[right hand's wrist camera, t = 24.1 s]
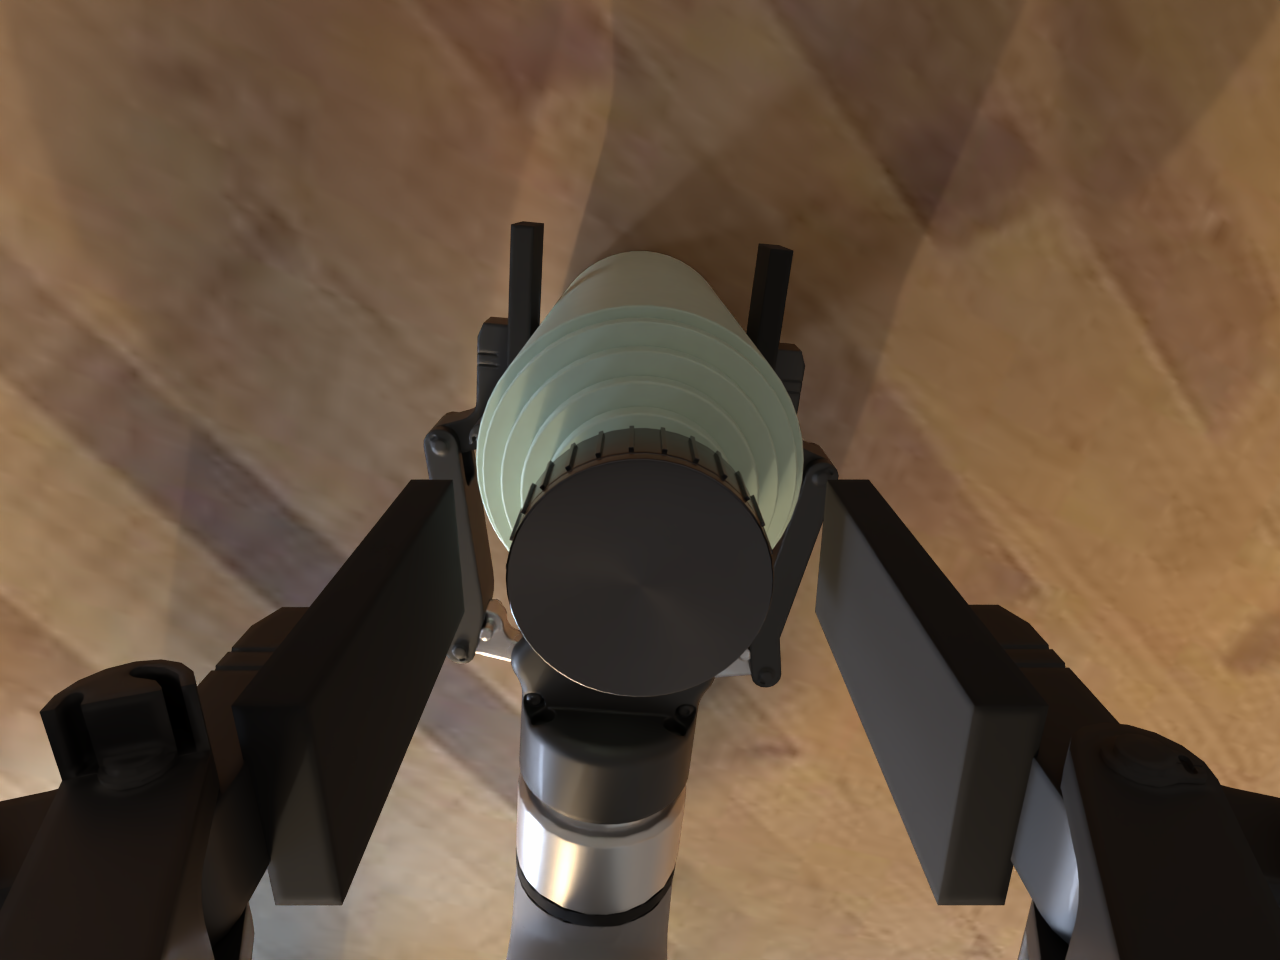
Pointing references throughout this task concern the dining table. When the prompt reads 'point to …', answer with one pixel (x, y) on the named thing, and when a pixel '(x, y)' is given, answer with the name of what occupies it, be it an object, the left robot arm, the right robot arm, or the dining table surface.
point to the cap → (639, 563)
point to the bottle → (639, 386)
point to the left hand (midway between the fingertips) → (652, 236)
